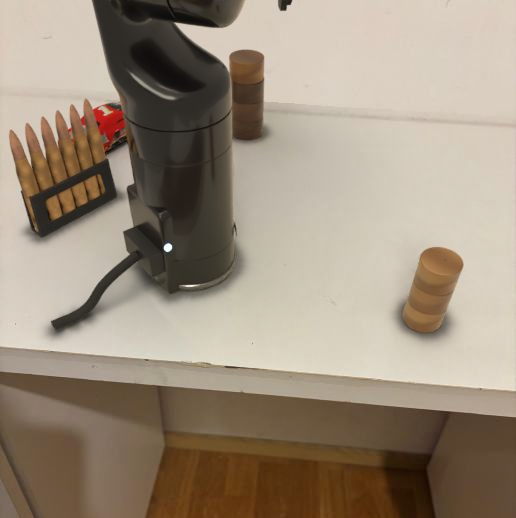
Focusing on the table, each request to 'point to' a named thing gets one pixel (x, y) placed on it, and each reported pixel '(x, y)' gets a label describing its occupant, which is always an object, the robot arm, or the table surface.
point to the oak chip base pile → (432, 289)
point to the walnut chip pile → (247, 110)
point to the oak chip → (246, 67)
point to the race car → (108, 125)
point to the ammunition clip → (63, 171)
